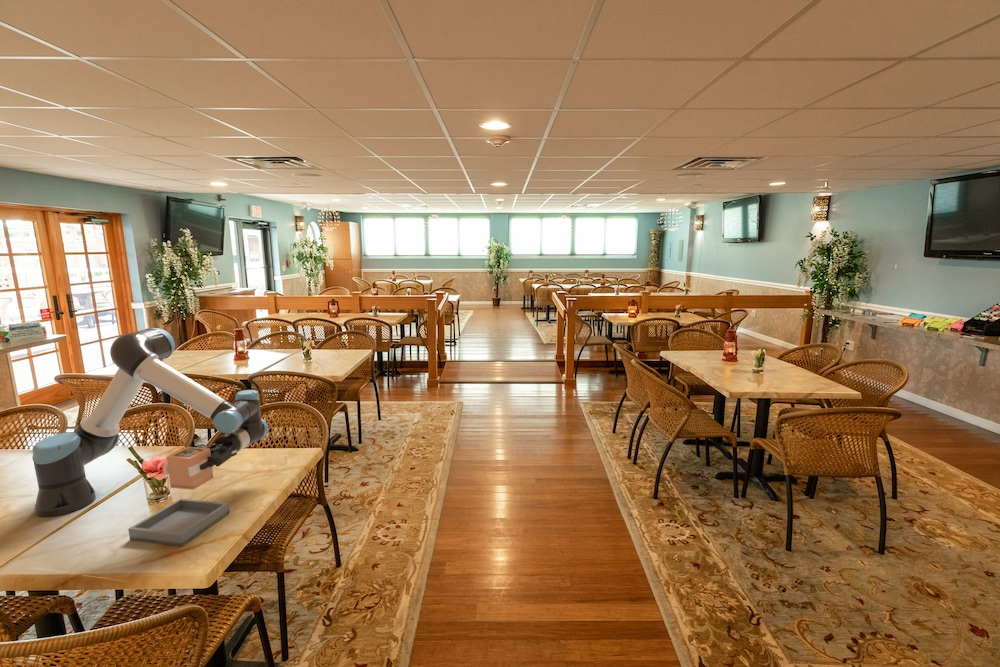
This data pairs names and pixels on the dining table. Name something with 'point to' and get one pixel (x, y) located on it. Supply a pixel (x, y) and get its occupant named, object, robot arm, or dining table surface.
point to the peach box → (183, 461)
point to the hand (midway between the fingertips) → (177, 471)
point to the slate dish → (179, 522)
